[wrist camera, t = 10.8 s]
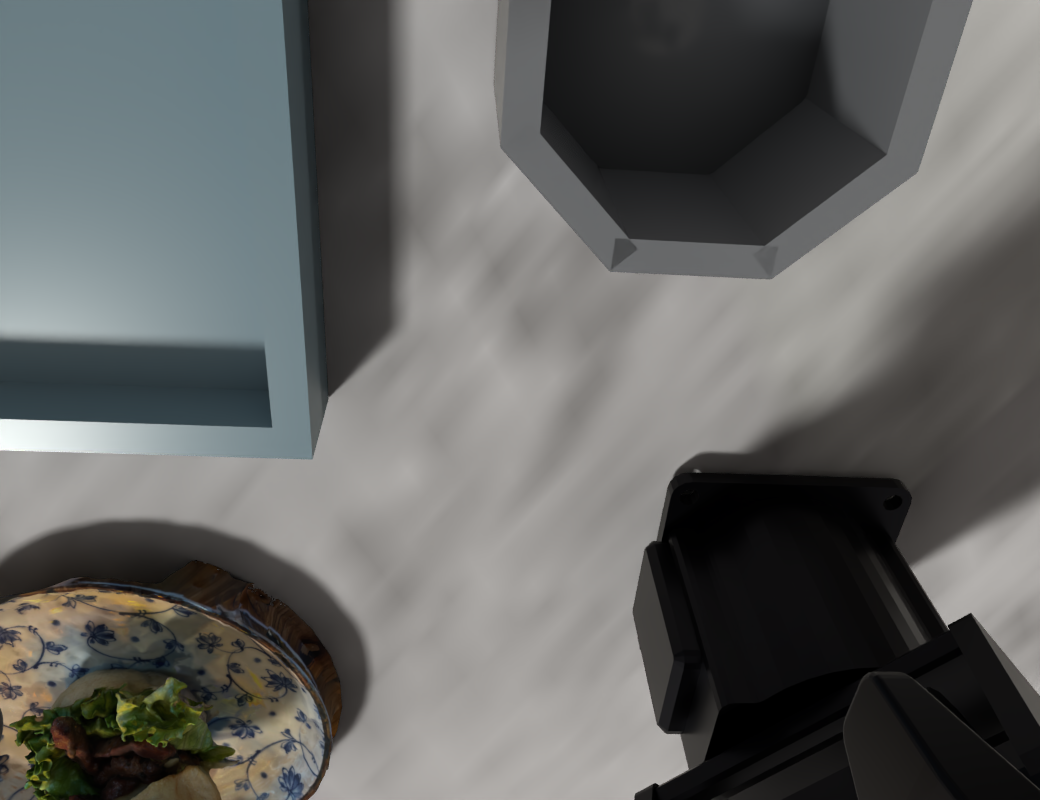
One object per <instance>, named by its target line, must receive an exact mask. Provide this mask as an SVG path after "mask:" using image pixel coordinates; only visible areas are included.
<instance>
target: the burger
mask: <svg viewBox="0 0 1040 800" xmlns="http://www.w3.org/2000/svg"><path fill="white" fill-rule="evenodd" d="M196 561H197V560H196ZM196 561H191V562H190V563H188V564H187V565H186V566H185V567H183V568H182V569H180V570H178V571H177V572H175V573H173V574H172V575H170V576H169V577H168V578H166V579H165V580H164V581H163V582H161V583H158V584H154V583H140V582H133V581H128V582H126V581H121V580H118V579H111V578H108V579H94V578H90V577H79V578H71V579H69V580H66V581H64V582H61V583H59V584H56V585H53V586H50V587H47V588H44V589H40V590H37V591H33V592H30V593H23V594H14V595H9V596H6V597H2V598H0V708H1V711H2V715H3V723H4V724H3V733H2V738H1V741H0V800H308V799H309V798H310V797H311V796H312V795H313V794H314V793H315V792H316V791H317V789H318V787H319V785H320V783H321V781H322V779H323V777H324V776H325V772H326V770H328V767H329V760H330V755H331V750H332V739H333V738H334V736H335V734H336V732H337V729H338V724H339V720H340V715H341V710H342V701H341V689H340V681H339V678H338V676H337V673H336V670H335V668H334V665H333V662H332V660H331V657H330V655H329V653H328V652H327V650H326V649H325V647H324V646H323V645H322V643H321V642H320V640H319V639H318V637H317V636H316V635H315V633H314V632H313V630H312V629H311V628H310V627H309V626H308V625H307V624H306V623H305V622H304V621H303V620H302V619H301V618H300V617H299V616H298V615H297V614H296V613H295V612H294V611H293V610H291V609H290V608H289V607H288V606H287V605H286V606H284V605H285V603H283V602H282V601H281V602H280V600H279V599H276V601H274V602H273V606H272V605H270V602H271V600H272V598H270V597H268V595H267V594H265V593H266V592H265V593H264V592H263V591H261V589H256V588H255V590H256V592H255V590H253V589H251V590H250V589H249V588H248V587H249V586H250V587H252V588H253V585H250V584H254V583H250V584H249V583H245V582H243V581H241V580H237V579H234V578H232V577H231V576H230V574H229V573H228V572H227V571H224V570H222V569H221V568H219V567H216V566H214V565H211V564H208V563H203V562H201V561H197V562H196ZM217 569H219V570H217ZM248 589H249V590H248ZM252 590H253V591H254V592H251V591H252ZM254 593H255V594H254ZM260 595H262V596H260ZM271 597H272V596H271ZM273 600H274V598H273ZM280 603H282V605H280Z"/></svg>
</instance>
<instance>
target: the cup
mask: <svg viewBox="0 0 1040 800" xmlns="http://www.w3.org/2000/svg"><path fill="white" fill-rule="evenodd" d="M972 1H973V0H498V14H497V32H496V50H495V69H494V92H495V101H496V111H497V120H498V129H499V138H500V147H501V149H502V150H503V151H504V152H505V153H506V154H507V156H508V157H509V158H510V159H511V160H512V161H513V162H514V163H515V165H516V166H517V167H518V168H519V169H520V170H521V171H522V173H523V174H524V175H525V176H526V177H527V178H528V179H529V180H530V182H531V183H532V184H533V185H534V186H535V187H536V188H537V190H538V191H539V192H540V193H541V194H542V195H543V196H544V197H545V199H546V200H547V201H548V202H549V203H550V204H551V205H552V206H553V208H554V209H555V210H556V211H557V212H558V213H559V214H560V216H561V217H562V218H563V219H564V220H565V221H566V222H567V223H568V225H569V226H570V227H571V228H572V229H573V230H574V231H575V233H576V234H577V235H578V236H579V237H580V238H581V239H582V240H583V242H584V243H585V244H586V245H587V246H588V247H589V248H590V250H591V251H592V252H593V253H594V254H595V255H596V256H597V257H598V259H599V260H600V261H601V262H602V263H603V264H604V265H605V267H606V268H607V269H608V270H609V271H610V272H628V273H649V274H670V275H690V276H711V277H732V278H752V279H772V278H773V277H775V276H776V275H778V274H779V273H780V272H782V271H783V270H784V269H786V268H787V267H789V266H790V265H791V264H793V263H794V262H795V261H797V260H798V259H800V258H801V257H802V256H804V255H805V254H806V253H808V252H809V251H811V250H812V249H813V248H815V247H816V246H817V245H819V244H820V243H821V242H823V241H824V240H826V239H827V238H828V237H830V236H831V235H832V234H834V233H835V232H837V231H838V230H839V229H841V228H842V227H843V226H845V225H846V224H848V223H849V222H850V221H852V220H853V219H854V218H856V217H857V216H859V215H860V214H861V213H863V212H864V211H865V210H867V209H868V208H869V207H871V206H872V205H874V204H875V203H876V202H878V201H879V200H880V199H882V198H883V197H885V196H886V195H887V194H889V193H890V192H891V191H893V190H894V189H896V188H897V187H898V186H900V185H901V184H902V183H904V182H905V181H907V180H908V179H909V178H911V177H912V176H913V175H915V174H916V173H917V172H918V170H919V167H920V164H921V161H922V157H923V154H924V151H925V148H926V145H927V142H928V139H929V136H930V133H931V129H932V126H933V123H934V120H935V117H936V114H937V111H938V108H939V104H940V101H941V98H942V95H943V92H944V89H945V86H946V83H947V79H948V76H949V73H950V70H951V67H952V64H953V61H954V58H955V54H956V51H957V48H958V45H959V42H960V39H961V36H962V33H963V30H964V26H965V23H966V20H967V17H968V14H969V11H970V8H971V5H972Z"/></svg>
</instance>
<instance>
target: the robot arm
mask: <svg viewBox="0 0 1040 800" xmlns="http://www.w3.org/2000/svg"><path fill="white" fill-rule="evenodd" d="M691 489H692V490H695V491H694V492H693V493H691V494H690V495H685V496H684V495H681V494H682V493H683V492H684V491H686V490H691ZM894 495H895V496H894ZM890 496H894V497H893V498H892V499H890V500H887V501H885V500H886V499H887V498H888V497H890ZM911 500H912V497H911V494H910V492H909V491H908V489H907V488H906V487H905V485H904V484H903V483H902V482H901V481H899V480H896V479H888V478H854V477H820V476H786V475H752V474H718V473H683V474H680V475H678V476H676V477H675V478H674V479H673V480H671V481H670V483H669V486H668V488H667V493H666V498H665V503H664V508H663V513H662V518H661V522H660V527H659V532H658V537H657V541H652V542H651V543H650V544H649V545H648V546H647V547H646V548H645V551H644V556H643V561H642V566H641V571H640V576H639V581H638V586H637V591H636V596H635V601H634V606H633V616H634V621H635V625H636V630H637V634H638V642H639V646H640V650H641V653H642V658H643V662H644V667H645V671H646V676H647V681H648V685H649V690H650V694H651V699H652V704H653V708H654V713H655V717H656V722H657V725H658V726H659V727H660V728H661V729H662V730H663V731H664V732H665V733H666V734H680V735H681V739H682V743H683V747H684V751H685V755H686V760H687V764H688V768H689V770H688V771H686V772H684V773H682V774H680V775H678V776H676V777H674V778H673V779H671V780H669V781H667V782H665V783H663V784H661V785H660V786H659V785H658V784H656V783H655V784H653V785H651V786H649V787H647V788H645V789H643V790H641V791H640V792H638V793H636V794H635V799H634V800H1040V696H1039V694H1038V693H1037V692H1036V691H1035V690H1034V688H1033V687H1032V686H1031V685H1030V684H1029V682H1028V681H1027V680H1026V679H1025V677H1024V676H1023V675H1022V674H1021V673H1020V671H1019V670H1018V669H1017V668H1016V667H1015V665H1014V664H1013V663H1012V662H1011V661H1010V659H1009V658H1008V657H1007V656H1006V654H1005V653H1004V652H1003V651H1002V650H1001V648H1000V647H999V646H998V645H997V644H996V642H995V641H994V640H993V639H992V638H991V636H990V635H989V634H988V633H987V631H986V630H985V629H984V628H983V627H982V625H981V624H980V623H979V622H978V621H977V619H976V618H975V617H974V616H973V615H972V613H970V614H968V615H966V616H964V617H962V618H961V619H959V620H957V621H955V622H953V623H951V624H949V625H948V628H949V629H950V630H949V629H948V628H947V626H946V625H945V623H944V621H943V620H942V618H941V617H940V615H939V613H938V612H937V610H936V609H935V607H934V605H933V604H932V602H931V600H930V599H929V597H928V596H927V594H926V592H925V591H924V589H923V588H922V586H921V584H920V583H919V581H918V580H917V578H916V576H915V575H914V573H913V572H912V570H911V568H910V567H909V565H908V564H907V562H906V560H905V559H904V557H903V556H902V554H901V552H900V551H899V549H898V548H897V546H896V544H895V542H896V540H897V537H898V535H899V532H900V530H901V527H902V525H903V522H904V520H905V517H906V515H907V512H908V509H909V507H910V504H911ZM3 724H4V723H3V715H2V711H1V708H0V741H1V738H2V733H3Z"/></svg>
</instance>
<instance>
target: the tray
mask: <svg viewBox="0 0 1040 800" xmlns="http://www.w3.org/2000/svg"><path fill="white" fill-rule="evenodd" d="M327 402H328V382H327V363H326V344H325V325H324V306H323V287H322V267H321V248H320V229H319V210H318V191H317V172H316V153H315V134H314V114H313V95H312V76H311V57H310V38H309V19H308V0H0V450H13V451H47V452H81V453H114V454H148V455H182V456H215V457H249V458H282V459H313V455H314V452H315V448H316V444H317V440H318V436H319V433H320V429H321V425H322V421H323V418H324V414H325V410H326V406H327Z"/></svg>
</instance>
